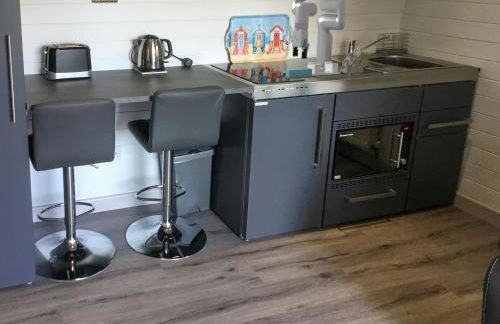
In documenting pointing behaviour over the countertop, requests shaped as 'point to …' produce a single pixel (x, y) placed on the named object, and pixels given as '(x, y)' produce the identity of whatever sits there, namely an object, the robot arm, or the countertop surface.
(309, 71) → the teal rectangular stick
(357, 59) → the grey irregular blocky piece
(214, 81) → the countertop surface
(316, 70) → the display cradle
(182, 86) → the countertop surface
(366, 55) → the plant pot
